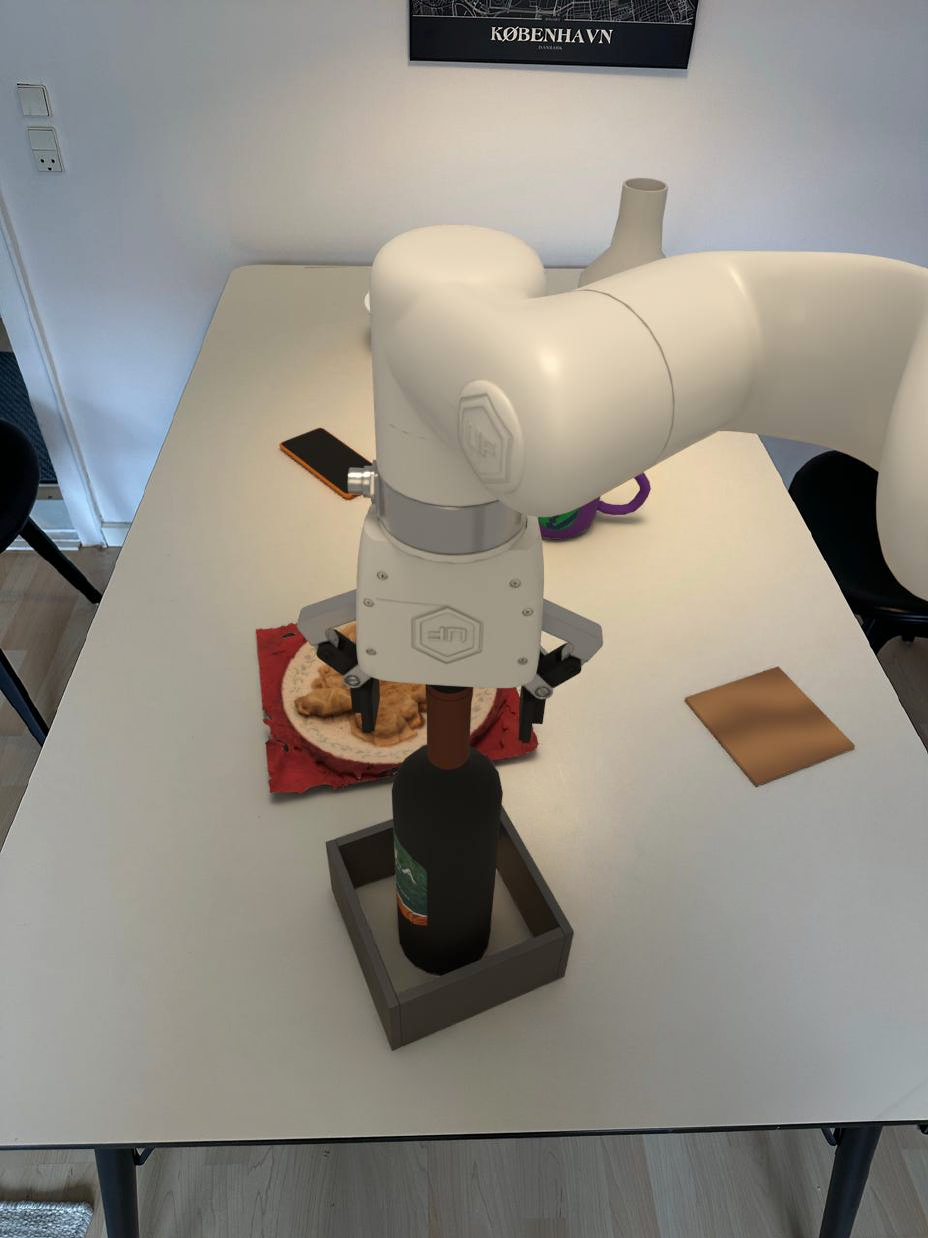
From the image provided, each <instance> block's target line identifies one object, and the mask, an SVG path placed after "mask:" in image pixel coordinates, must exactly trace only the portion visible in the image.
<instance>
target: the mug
mask: <svg viewBox="0 0 928 1238" xmlns="http://www.w3.org/2000/svg"><path fill="white" fill-rule="evenodd" d="M633 479H634V480H635V482H636V483H637V485H638V487H639V490H638V492H637V493H636V495H635V496H634V497H633V498H632V499H631V500H630V501H629V502H627V503H623V504H615V503H614V504H613V503H608V502H606V501H603V500H601V497H602V496H600V497H598V498H596V499H594V500H592V501H591V502H589V503H587V504H585V505H583V506H581V507H579V508H577V509H575V510H572V511H570V512H567V513H564V514H560V515H556V516H552V517H538V522H539V528H540V533H541V538H544V539H551V540H565V539H570V538H574V537H576V536H579V535H581V534H583V533H584V532H586V530H588V529H589V527H590V526H591V525H592V523H593V522H594V520H595V518H596V515H597V513H598V512H599V513H602V514H606V515H609V516H625V515H629V514H632V513H635V512H636V511H637V510H638V509H640V508H641V507H642V506H643V505H644V503H645V502H646V501H647V500H648V497H649V495H650V493H651V490H652V486H651V482H650V480H649V478H648V476H647V475H646V473H645V471H644V472H643V473H642V474H640V475H638V476H636V477H634V478H633Z"/></svg>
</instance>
